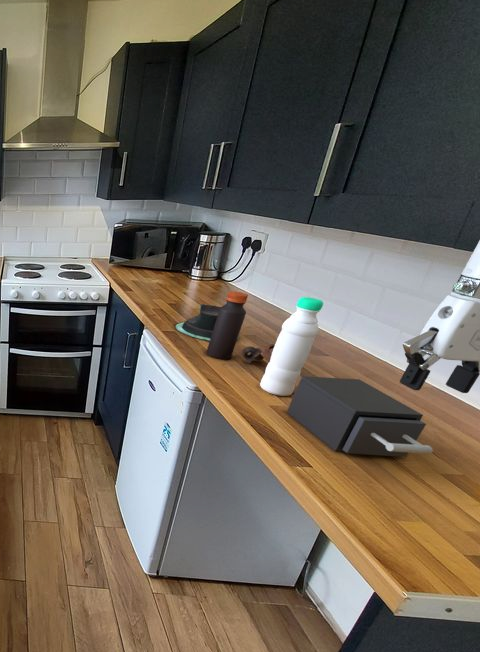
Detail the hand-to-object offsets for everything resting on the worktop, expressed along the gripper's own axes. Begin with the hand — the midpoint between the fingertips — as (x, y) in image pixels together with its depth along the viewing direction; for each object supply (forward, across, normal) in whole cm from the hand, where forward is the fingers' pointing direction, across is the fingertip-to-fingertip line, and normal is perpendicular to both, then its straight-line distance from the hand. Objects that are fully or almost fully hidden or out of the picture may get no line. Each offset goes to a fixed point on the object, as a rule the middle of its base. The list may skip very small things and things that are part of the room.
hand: (432, 387), depth 71 cm
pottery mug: (+18, +3, +45) cm, 48 cm away
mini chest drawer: (+17, 0, +7) cm, 18 cm away
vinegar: (+18, -6, +52) cm, 55 cm away
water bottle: (+18, -2, +30) cm, 35 cm away
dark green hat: (+18, +1, +73) cm, 75 cm away
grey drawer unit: (+18, 0, +12) cm, 21 cm away
